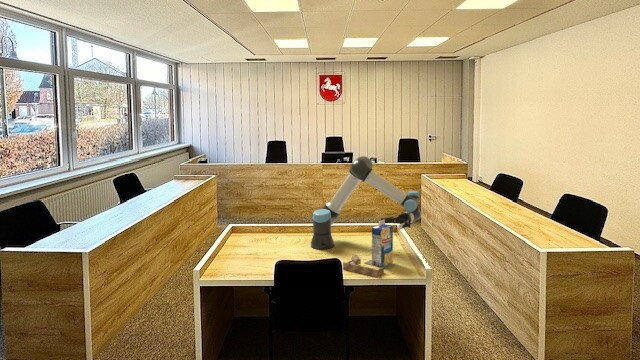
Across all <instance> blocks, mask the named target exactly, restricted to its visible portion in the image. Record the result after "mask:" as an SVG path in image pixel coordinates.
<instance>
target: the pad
mask: <svg viewBox="0 0 640 360" xmlns="http://www.w3.org/2000/svg"><path fill="white" fill-rule="evenodd" d="M363 263H364V264H365V265H370V266H375V267H379V268H382V267H384V269H391V268H393V266H395V264H394V263H390V264H387V265H385V266H382V267H380V266H376V265H373V264H372V259H369V260H368V261H365V262H363Z"/></svg>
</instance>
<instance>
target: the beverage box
mask: <svg viewBox="0 0 640 360" xmlns="http://www.w3.org/2000/svg"><path fill="white" fill-rule="evenodd" d="M393 233H394V225H389V224H387V223H385V224H382V225H379V226H378V225H376V226H373V227H371V260H372V264H373V265H376V266H375V267H378V266H380V267H379V268H382V266H385V265H387V264H393V262H394V261H393V260H394V259H393V258H394V256H393V255H394V254H393V253H394V245H393V244H394V241H393V240H394V235H393ZM373 265H372V266H373Z"/></svg>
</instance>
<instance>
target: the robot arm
mask: <svg viewBox="0 0 640 360" xmlns="http://www.w3.org/2000/svg"><path fill="white" fill-rule="evenodd" d="M374 171H375V170H374V169H373V162H372V160H371V158H369V157H368V156H364V155H363V156H358V157H357V158H356V159H354V160H353V161H352V163H350V168H349V169H348V175H347V177H346V178H345V179H344V180H343V182H342V184H341V185H340V186H339V187H338V189H337V191H336V193H335V194H334V195H333V197H332V198H331V200H330V201H328V202H326V203H325V204H324V206H323V207H322V208H319V209H316V210H314V211H313V213H312V227H313V228H312V229H313V230H312V233H313V234H312V238H311V242H310V248H312V249H315V250H328V249H332V248H334V247H335V242H334V239H333V236H332V225H333V224H334V223H335V222H336V221H337V219H338V217H339V216H340V214H341V213H342V208H343V206H344V205H345V203H346V202H347V200H348V199H349V197H350V196H351V195H352V193H354V191H355V190H356V188H357V186H358V185H359V183H360V182H363V183H368V184H369V185H370V186H372V187H373V188H375V189H376V190H378V191H380V192H381V193H382V194H384V195H385V196H387V198H389V199H391V200H393V201H394V202H396V203H397V204H398V205H400V206H402V207H403V209H404V210H405V212H403V213H400V214H398V216H395V217H394V216H390V217H389V216H388V217H382V218H380V220H379V221H378V224H377V226H379V225H382V224H397V225H398V227H397V228H398V230H399V231H400V230H402V229H405V228H409V229H411V225H412V223H413V222H414V223H415V222H416V221H418V220H419V219H420V218H421V217H422V211H421V210H420V191H417V190H409V191H408V192H407V193H405V192H404V191H403V190H401V189H400V188H398V186H395V185H394V184H392V183H391V182H390V181H388V180H386V179H385V178H383V177H382V176H380V175H379V174H377V173H376V172H374Z"/></svg>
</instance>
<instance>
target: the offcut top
mask: <svg viewBox="0 0 640 360" xmlns="http://www.w3.org/2000/svg"><path fill="white" fill-rule="evenodd" d="M351 261H353V262H354V263H355V264H359V265H361V262H362V259H361V257H359V256H358V255H357V254H355V255H351Z"/></svg>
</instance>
